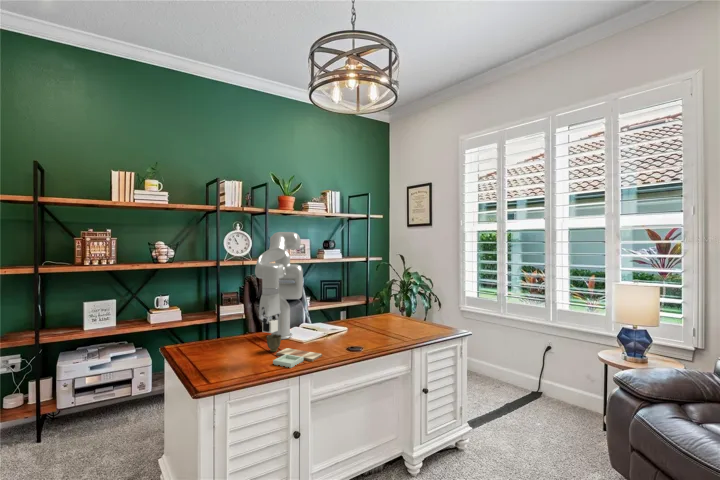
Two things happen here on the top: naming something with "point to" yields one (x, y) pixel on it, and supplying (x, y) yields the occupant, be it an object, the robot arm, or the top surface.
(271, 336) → the dark bronze flared dome
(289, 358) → the tray
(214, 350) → the top surface
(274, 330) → the block
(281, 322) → the robot arm
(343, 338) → the top surface
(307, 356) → the track
